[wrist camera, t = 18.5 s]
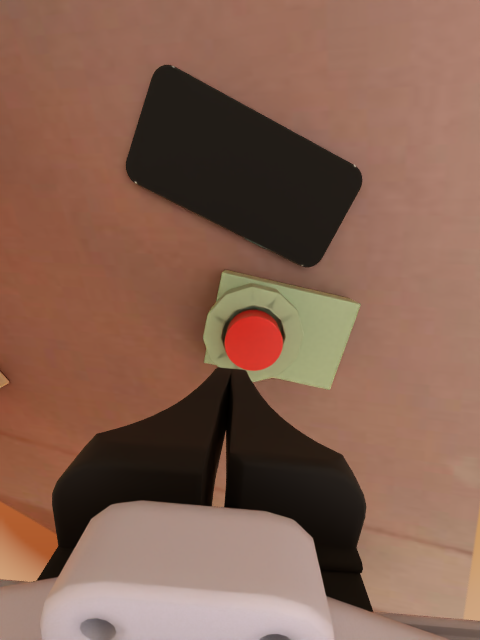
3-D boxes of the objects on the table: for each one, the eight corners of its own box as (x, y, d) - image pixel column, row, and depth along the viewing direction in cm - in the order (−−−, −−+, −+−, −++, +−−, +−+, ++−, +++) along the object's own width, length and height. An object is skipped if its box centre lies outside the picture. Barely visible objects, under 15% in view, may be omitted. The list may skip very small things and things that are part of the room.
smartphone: (158, 55, 16) (369, 172, 17) (161, 63, 16) (365, 174, 18) (120, 176, 18) (313, 273, 19) (125, 179, 18) (311, 272, 20)
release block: (204, 351, 22) (195, 373, 18) (221, 268, 20) (215, 274, 16) (322, 376, 22) (337, 403, 18) (349, 298, 20) (373, 310, 17)
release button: (221, 353, 18) (218, 364, 16) (232, 303, 17) (231, 310, 15) (272, 364, 18) (274, 376, 16) (285, 316, 17) (290, 323, 15)
